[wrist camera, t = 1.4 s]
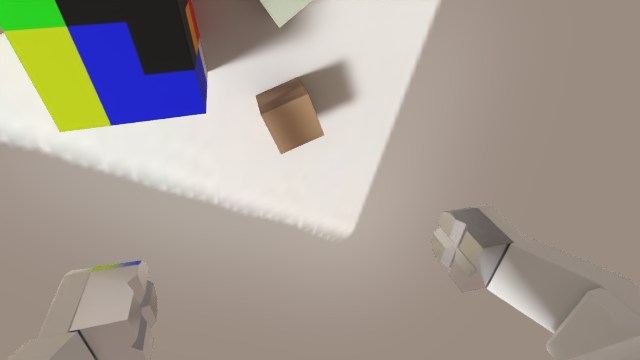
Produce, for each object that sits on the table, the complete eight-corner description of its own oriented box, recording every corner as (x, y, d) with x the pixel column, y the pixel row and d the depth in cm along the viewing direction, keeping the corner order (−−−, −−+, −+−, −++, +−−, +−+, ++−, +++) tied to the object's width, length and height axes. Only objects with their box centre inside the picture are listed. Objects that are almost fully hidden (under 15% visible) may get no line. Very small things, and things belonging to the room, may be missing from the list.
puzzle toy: (207, 71, 33) (205, 113, 25) (98, 83, 31) (60, 132, 23) (179, -50, 27) (166, -45, 19) (42, -45, 25) (-35, -38, 17)
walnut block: (297, 76, 36) (308, 93, 32) (312, 115, 39) (324, 135, 35) (255, 95, 36) (260, 114, 32) (274, 132, 39) (281, 154, 35)
